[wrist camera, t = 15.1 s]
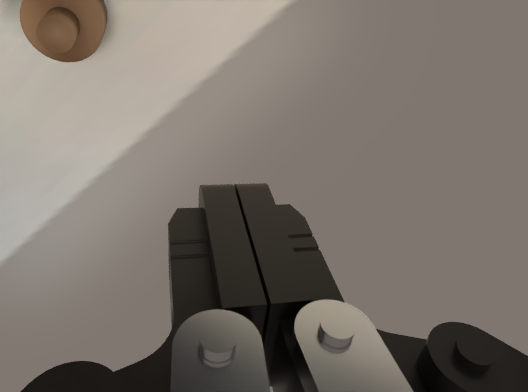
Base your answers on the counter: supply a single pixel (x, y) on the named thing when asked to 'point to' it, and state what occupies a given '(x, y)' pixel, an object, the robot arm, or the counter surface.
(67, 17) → the stand
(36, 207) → the counter surface
